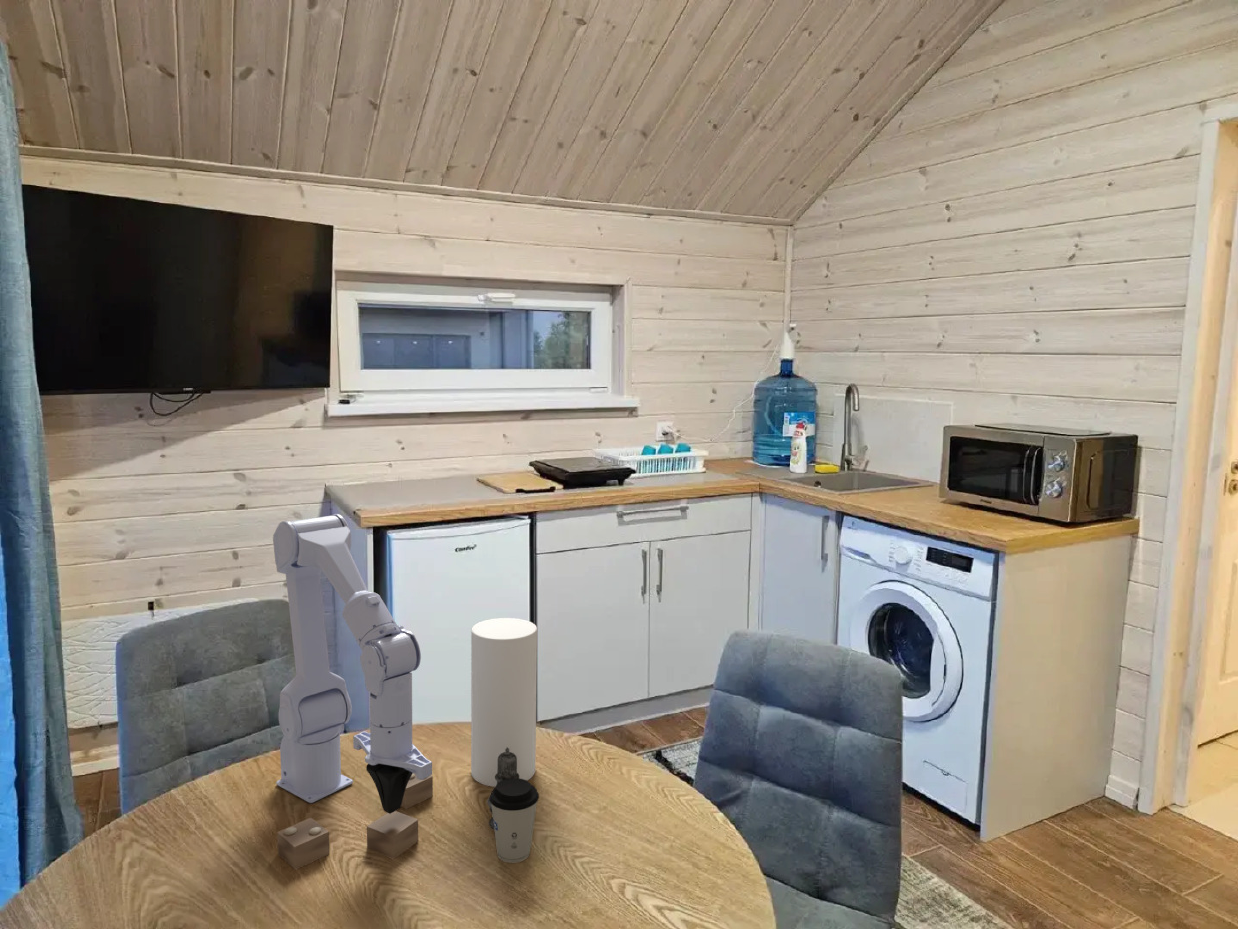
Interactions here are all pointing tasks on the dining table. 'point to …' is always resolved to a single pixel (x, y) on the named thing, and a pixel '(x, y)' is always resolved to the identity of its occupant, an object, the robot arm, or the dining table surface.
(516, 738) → the tall pillar cylinder
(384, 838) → the plain block
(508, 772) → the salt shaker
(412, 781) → the three-dot block
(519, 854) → the coffee cup
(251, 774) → the dining table surface
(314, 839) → the two-dot block
